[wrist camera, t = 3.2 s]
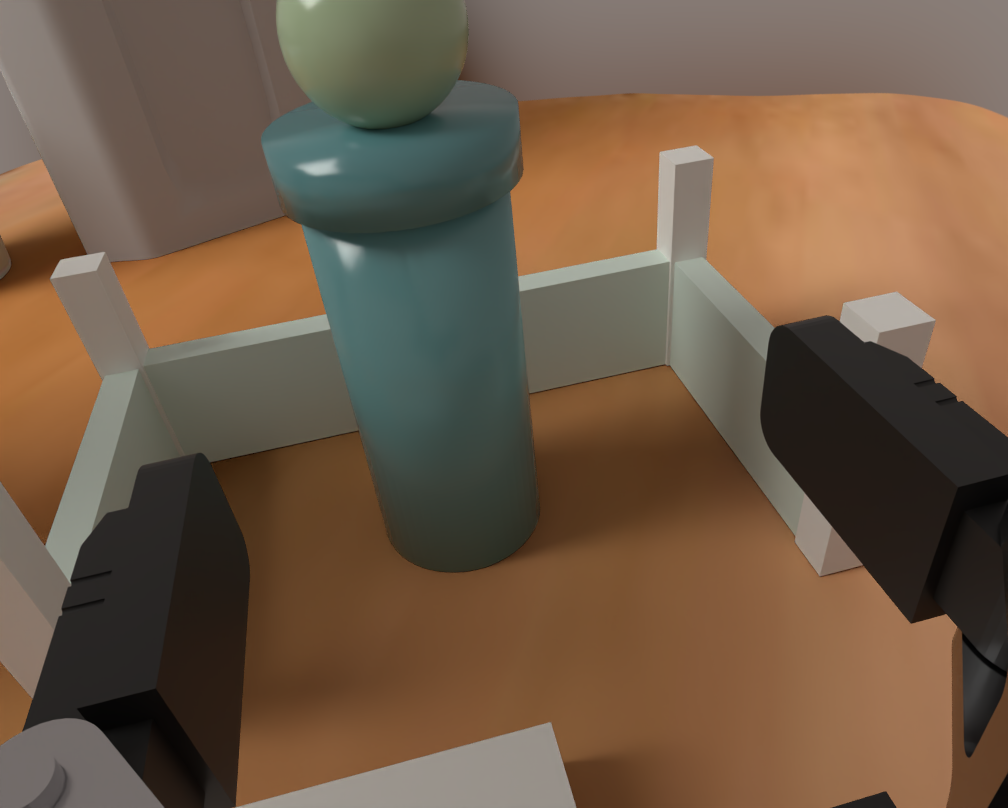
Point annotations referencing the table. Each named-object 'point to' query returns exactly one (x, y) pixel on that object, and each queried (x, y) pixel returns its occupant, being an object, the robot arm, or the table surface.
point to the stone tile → (453, 779)
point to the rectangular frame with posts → (327, 407)
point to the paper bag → (150, 114)
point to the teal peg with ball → (415, 265)
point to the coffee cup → (4, 260)
